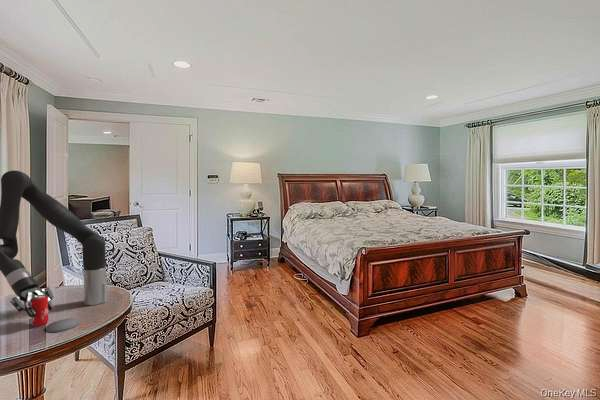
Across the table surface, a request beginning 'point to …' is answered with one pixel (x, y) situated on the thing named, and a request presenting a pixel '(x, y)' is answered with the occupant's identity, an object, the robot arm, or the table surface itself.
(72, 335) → the table surface
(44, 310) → the beverage can
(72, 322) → the rubber mat
